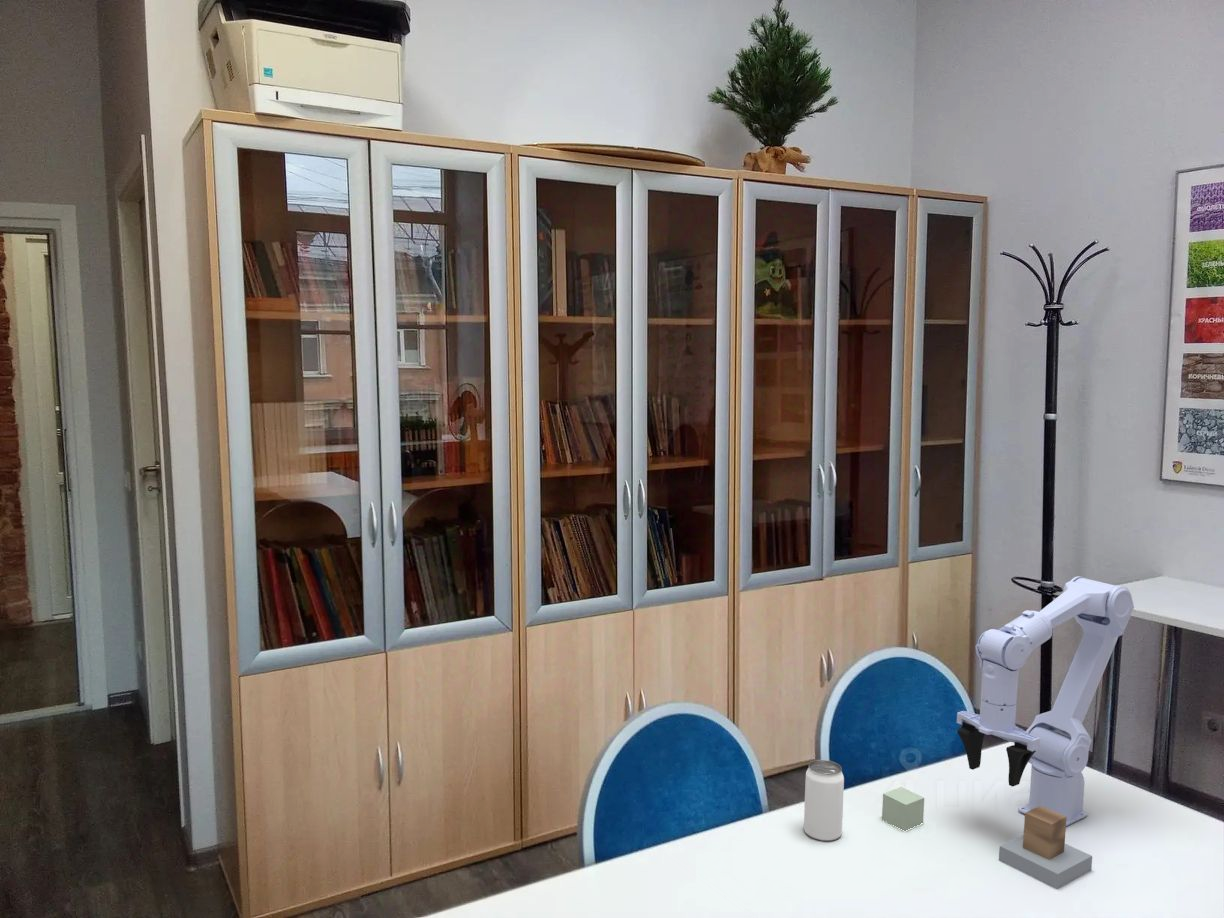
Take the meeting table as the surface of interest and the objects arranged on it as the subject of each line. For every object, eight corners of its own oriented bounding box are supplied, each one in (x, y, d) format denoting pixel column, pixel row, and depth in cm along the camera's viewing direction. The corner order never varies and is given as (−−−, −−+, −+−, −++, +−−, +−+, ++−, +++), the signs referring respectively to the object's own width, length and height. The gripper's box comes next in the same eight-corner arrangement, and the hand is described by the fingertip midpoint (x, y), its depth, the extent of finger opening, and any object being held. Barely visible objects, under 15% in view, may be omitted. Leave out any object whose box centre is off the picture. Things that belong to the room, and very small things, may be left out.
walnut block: (1037, 839, 152) (1040, 805, 151) (1063, 851, 148) (1066, 816, 148) (1022, 847, 149) (1025, 812, 149) (1049, 860, 146) (1051, 824, 145)
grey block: (1033, 846, 156) (1034, 829, 155) (1091, 873, 147) (1092, 855, 147) (998, 863, 150) (999, 845, 150) (1056, 892, 142) (1057, 874, 141)
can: (842, 844, 154) (845, 776, 153) (803, 839, 156) (806, 772, 154) (840, 825, 161) (843, 760, 160) (803, 821, 162) (805, 757, 161)
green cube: (900, 813, 166) (901, 786, 165) (923, 824, 162) (924, 797, 161) (881, 820, 163) (883, 793, 163) (904, 832, 159) (906, 804, 158)
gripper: (947, 691, 160) (943, 765, 161) (1024, 718, 148) (1019, 798, 149) (972, 684, 164) (967, 757, 165) (1048, 710, 152) (1043, 788, 153)
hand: (993, 776), depth 158 cm, fingers open, 7 cm apart
